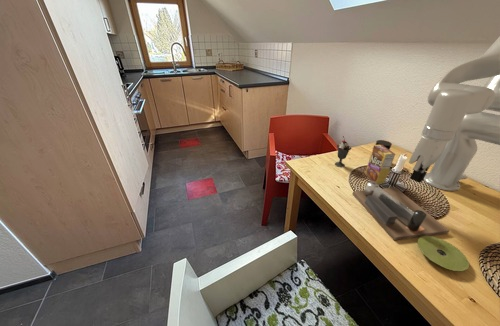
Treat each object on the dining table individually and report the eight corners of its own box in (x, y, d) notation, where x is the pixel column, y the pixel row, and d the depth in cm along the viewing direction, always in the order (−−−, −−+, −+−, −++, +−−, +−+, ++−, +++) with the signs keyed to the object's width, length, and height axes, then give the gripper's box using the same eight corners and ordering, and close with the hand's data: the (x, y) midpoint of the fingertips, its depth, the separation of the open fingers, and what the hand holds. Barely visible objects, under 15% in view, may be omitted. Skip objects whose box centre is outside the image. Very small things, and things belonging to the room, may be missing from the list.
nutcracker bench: (394, 190, 85) (398, 180, 82) (447, 233, 65) (455, 222, 63) (352, 194, 83) (355, 184, 80) (393, 240, 63) (399, 229, 61)
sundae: (334, 160, 107) (340, 134, 100) (348, 163, 104) (355, 137, 96) (330, 165, 103) (337, 138, 95) (344, 169, 99) (352, 141, 92)
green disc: (417, 233, 65) (419, 229, 64) (464, 254, 59) (468, 250, 58) (412, 257, 58) (415, 253, 57) (465, 284, 52) (470, 279, 51)
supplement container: (385, 159, 108) (391, 141, 102) (384, 165, 103) (391, 146, 97) (370, 156, 111) (376, 139, 105) (369, 161, 106) (376, 143, 100)
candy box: (363, 173, 96) (373, 144, 88) (372, 173, 96) (383, 144, 88) (374, 184, 88) (385, 153, 81) (384, 184, 88) (396, 153, 81)
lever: (361, 191, 81) (366, 178, 78) (370, 189, 82) (374, 176, 79) (411, 232, 63) (420, 217, 60) (421, 229, 64) (430, 215, 61)
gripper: (435, 123, 68) (415, 168, 77) (411, 134, 62) (393, 182, 71) (464, 129, 62) (439, 177, 72) (441, 143, 56) (416, 193, 66)
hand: (416, 179), depth 71 cm, fingers closed
